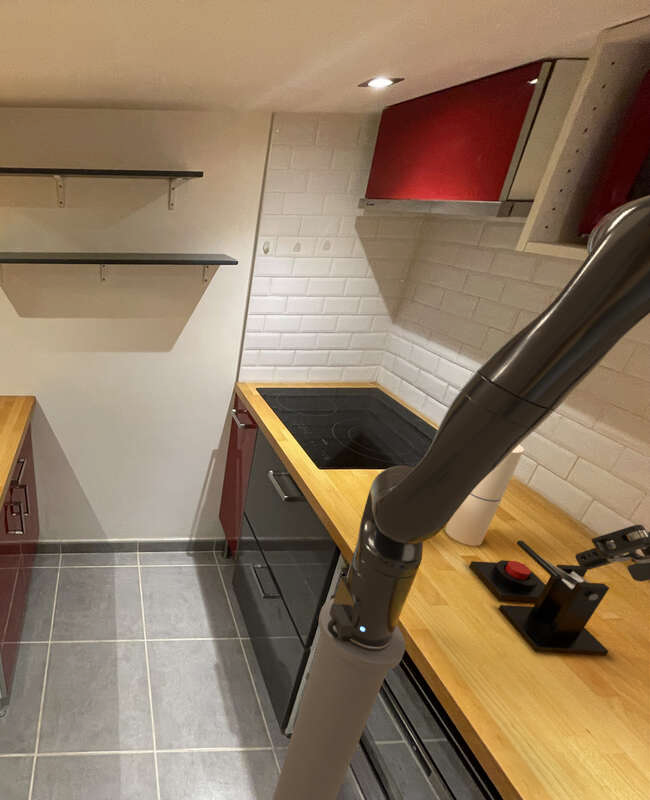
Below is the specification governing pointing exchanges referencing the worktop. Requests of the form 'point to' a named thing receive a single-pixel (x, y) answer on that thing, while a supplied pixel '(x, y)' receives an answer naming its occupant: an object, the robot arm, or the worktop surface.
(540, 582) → the block
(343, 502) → the worktop surface
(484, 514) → the cylindrical container
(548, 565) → the lever
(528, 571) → the button
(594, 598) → the lever bracket
